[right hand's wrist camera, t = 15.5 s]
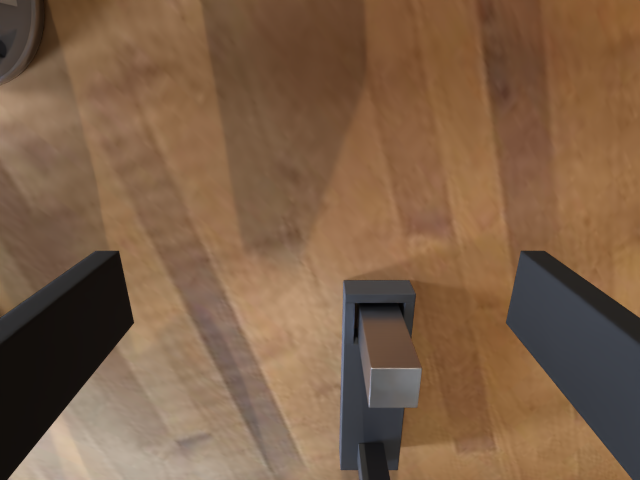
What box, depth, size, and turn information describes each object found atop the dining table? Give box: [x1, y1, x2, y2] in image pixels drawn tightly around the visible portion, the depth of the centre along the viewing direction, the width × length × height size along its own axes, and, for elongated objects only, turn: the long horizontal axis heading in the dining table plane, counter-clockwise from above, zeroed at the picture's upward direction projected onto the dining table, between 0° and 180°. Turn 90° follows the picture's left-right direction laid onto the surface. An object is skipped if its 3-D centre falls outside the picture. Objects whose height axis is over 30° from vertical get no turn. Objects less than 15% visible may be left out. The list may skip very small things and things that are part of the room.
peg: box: [356, 303, 422, 408], centre depth 36 cm, size 4×4×12 cm
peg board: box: [339, 280, 416, 480], centre depth 39 cm, size 24×7×11 cm, turn 0°
